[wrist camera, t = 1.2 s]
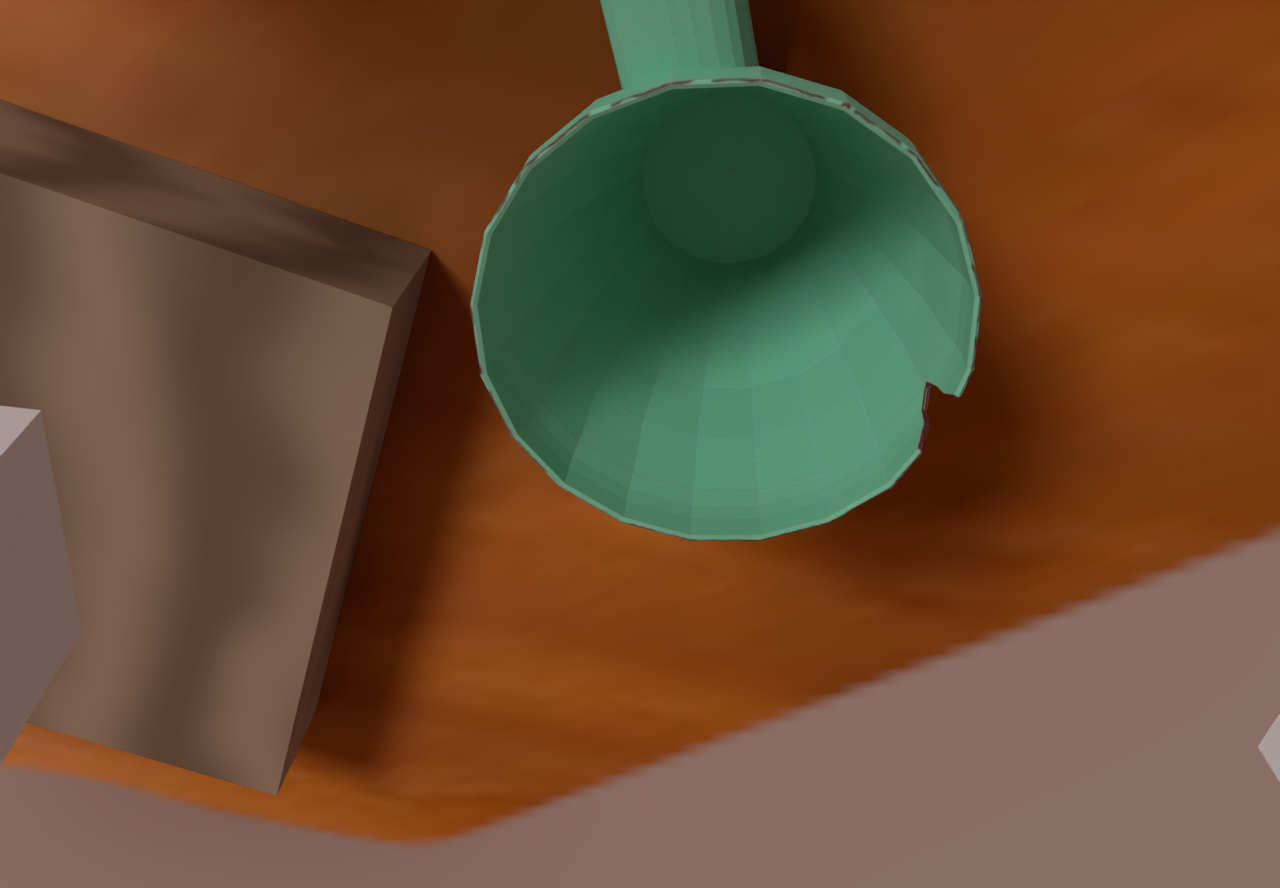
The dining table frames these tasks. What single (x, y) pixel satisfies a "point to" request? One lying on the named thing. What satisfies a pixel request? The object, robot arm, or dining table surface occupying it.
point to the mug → (722, 290)
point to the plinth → (196, 434)
